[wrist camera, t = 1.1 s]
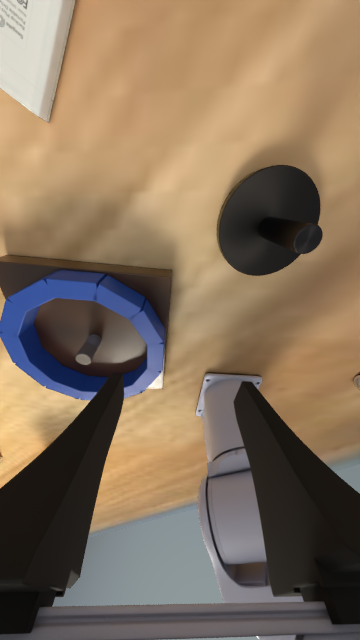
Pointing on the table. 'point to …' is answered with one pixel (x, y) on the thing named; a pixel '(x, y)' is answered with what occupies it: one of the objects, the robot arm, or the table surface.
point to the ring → (79, 286)
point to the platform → (91, 316)
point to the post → (269, 220)
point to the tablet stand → (357, 381)
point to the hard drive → (33, 50)
